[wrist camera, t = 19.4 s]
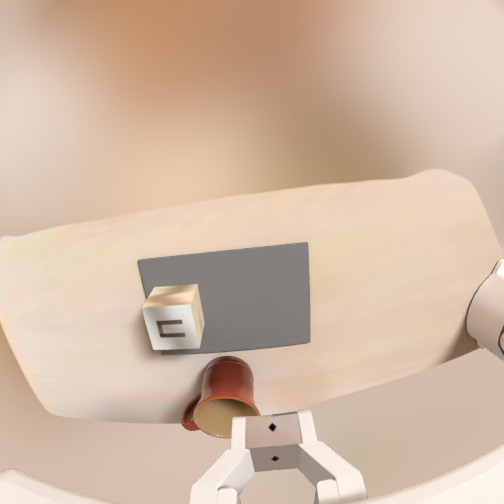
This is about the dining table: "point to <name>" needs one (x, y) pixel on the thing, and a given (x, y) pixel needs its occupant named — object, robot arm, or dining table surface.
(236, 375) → the mug
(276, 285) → the mat
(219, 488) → the robot arm
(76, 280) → the dining table surface
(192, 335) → the letter block
